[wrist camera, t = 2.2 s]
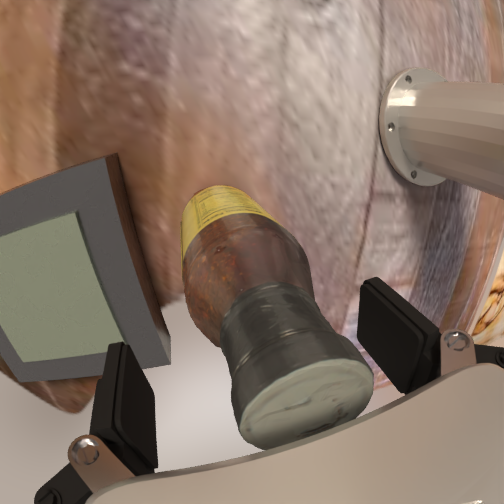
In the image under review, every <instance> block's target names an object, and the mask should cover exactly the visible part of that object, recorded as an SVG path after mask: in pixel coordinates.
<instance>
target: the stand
mask: <svg viewBox="0 0 504 504" xmlns="http://www.w3.org/2000/svg"><path fill="white" fill-rule="evenodd" d="M117 342H124V343H125V345H127V344H129V345H130V347H131V349H132V351H133V353H134V355H135V357H136V359H137V361H138V363H139V365H140V367H141V369H146V368H153V367H158V366H164V365H170V364H171V353H170V352H171V347H170V345H171V344H170V334H169V332H168V329H167V326H166V324H165V321H164V318H163V315H162V312H161V310H160V307H159V304H158V301H157V298H156V295H155V292H154V289H153V286H152V283H151V280H150V277H149V274H148V270H147V267H146V264H145V261H144V257H143V254H142V251H141V247H140V244H139V240H138V237H137V233H136V230H135V226H134V222H133V219H132V215H131V211H130V207H129V203H128V199H127V195H126V191H125V187H124V182H123V178H122V174H121V169H120V165H119V160H118V155H117V153H114V154H110V155H107V156H103V157H100V158H96V159H93V160H90V161H87V162H83V163H80V164H77V165H74V166H71V167H68V168H65V169H62V170H59V171H57V172H54V173H51V174H48V175H45V176H43V177H40V178H37V179H35V180H32V181H30V182H27V183H25V184H22V185H20V186H17V187H15V188H12V189H10V190H8V191H5V192H3V193H1V194H0V354H1V356H2V357H3V359H4V360H5V362H6V363H7V365H8V366H9V368H10V369H11V371H12V372H13V373H14V375H15V376H16V378H17V379H18V380H19V382H31V381H46V380H59V379H70V378H80V377H89V376H97V375H103V371H104V365H105V360H106V355H107V350H108V345H109V344H111V343H117Z"/></svg>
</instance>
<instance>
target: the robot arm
mask: <svg viewBox="0 0 504 504" xmlns="http://www.w3.org/2000/svg"><path fill="white" fill-rule="evenodd" d="M379 126H380V135H381V140H382V144H383V147H384V150H385V153H386V155H387V157H388V159H389V161H390V163H391V165H392V166H393V167H394V169H395V170H396V172H397V173H398V174H400V175H401V176H402V177H403V178H404V179H406V180H408V181H409V182H411V183H414V184H417V185H419V186H426V187H429V186H435V185H437V184H440V183H442V182H443V181H445V180H446V179H449V180H452V181H455V182H458V183H461V184H464V185H466V186H469V187H472V188H475V189H477V190H480V191H483V192H485V193H488V194H490V195H493V196H495V197H498V198H500V199H503V200H504V84H502V83H486V82H448V81H447V80H446V79H445V78H444V77H443V76H442V75H440V74H439V73H437V72H435V71H434V70H431V69H428V68H410V69H407V70H404V71H402V72H400V73H399V74H397V75H396V76H395V77H394V78H393V79H392V80H391V82H390V83H389V84H388V86H387V88H386V90H385V92H384V94H383V98H382V102H381V105H380V114H379ZM357 338H358V341H359V343H360V344H361V345H362V346H363V347H364V349H365V350H366V351H367V352H368V354H369V355H370V356H371V357H372V359H373V360H374V361H375V362H376V363H377V365H378V366H379V367H380V368H381V370H382V371H383V372H384V373H385V375H386V376H387V377H388V378H389V380H390V381H391V382H392V383H393V385H394V386H395V387H396V388H397V390H398V391H399V392H400V393H404V394H405V396H403V397H401V398H399V399H397V400H395V401H393V402H391V403H389V404H387V405H385V406H383V407H381V408H379V409H376V410H374V411H372V412H370V413H368V414H365V415H363V416H361V417H359V418H356V419H354V420H352V421H349V422H347V423H344V424H342V425H339V426H337V427H334V428H332V429H329V430H327V431H324V432H321V433H318V434H316V435H313V436H310V437H307V438H304V439H301V440H298V441H295V442H292V443H289V444H286V445H283V446H279V447H276V448H273V449H269V450H266V451H262V452H258V453H255V454H251V455H247V456H243V457H239V458H235V459H230V460H226V461H221V462H217V463H211V464H206V465H201V466H195V467H190V468H185V469H178V470H171V471H164V472H158V473H155V472H154V469H155V468H158V456H157V444H156V443H157V441H156V423H155V422H156V421H155V396H154V392H153V390H152V388H151V386H150V384H149V382H148V380H147V378H146V376H145V375H144V373H143V371H142V369H141V367H140V365H139V363H138V361H137V359H136V357H135V355H134V353H133V351H132V349H131V347H130V345H129V344H127V345H125V343H124V342H117V343H111V344H109V345H108V350H107V355H106V360H105V365H104V371H103V377H102V379H99V380H98V382H97V386H96V391H95V397H94V404H93V410H92V418H91V426H90V433H89V435H83V436H80V437H78V438H76V439H75V440H74V441H73V442H72V443H71V445H70V447H69V449H68V459H69V461H70V463H69V464H68V465H66V466H65V467H64V468H63V469H62V470H61V471H59V472H58V473H57V474H56V475H55V476H54V477H53V478H51V480H49V481H48V482H47V483H46V484H44V485H43V486H42V487H41V488H40V489H39V490H38V491H37V493H36V495H35V498H34V504H504V348H503V347H494V346H485V345H477V344H474V342H473V339H472V337H471V336H470V335H469V334H468V333H467V332H465V331H463V330H460V329H449V330H447V331H445V332H444V333H443V334H441V333H440V332H439V328H438V327H436V326H435V325H434V324H433V323H432V322H431V321H430V320H428V319H427V318H426V317H425V316H424V315H423V314H422V313H420V312H419V311H418V310H417V309H416V308H415V307H413V306H412V305H411V304H410V303H409V302H408V301H406V300H405V299H404V298H403V297H402V296H400V295H399V294H398V293H397V292H396V291H394V290H393V289H392V288H391V287H390V286H388V285H387V284H386V283H385V282H384V281H382V280H381V279H380V278H378V277H374V278H371V279H368V280H365V281H364V282H363V285H361V287H360V301H359V315H358V327H357Z"/></svg>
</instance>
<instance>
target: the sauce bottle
mask: <svg viewBox="0 0 504 504" xmlns="http://www.w3.org/2000/svg"><path fill="white" fill-rule="evenodd" d="M180 234H181V265H182V280H183V284H184V293H185V297H186V303H187V306H188V310H189V313H190V316H191V318H192V320H193V321H194V323H195V325H196V327H197V328H199V329H200V330H201V332H202V333H203V334H204V335H205V336H206V337H207V338H208V339H209V340H210V341H211V342H212V343H213V344H214V345H215V346H217V347H220V348H221V349H222V352H223V354H224V356H225V357H226V360H227V363H228V367H229V372H230V375H231V379H232V390H231V402H232V406H233V410H234V416H235V419H236V422H237V425H238V430H239V432H240V434H241V436H242V437H243V439H244V440H245V441H246V442H247V443H250V444H252V445H254V446H255V447H257V448H260V449H262V450H269V449H273V448H276V447H279V446H283V445H286V444H289V443H292V442H295V441H298V440H301V439H304V438H307V437H310V436H313V435H316V434H318V433H321V432H324V431H327V430H329V429H332V428H334V427H337V426H339V425H342V424H344V423H347V422H349V421H352V420H354V419H356V417H357V416H358V415H359V414H360V413H361V412H362V411H363V410H364V409H365V408H366V406H367V405H368V403H369V401H370V399H371V396H372V394H373V385H374V381H373V377H374V374H373V372H372V370H371V368H370V366H369V365H368V364H367V362H366V361H365V359H364V358H363V357H362V355H361V354H360V352H359V351H358V349H357V348H356V347H355V346H354V345H353V343H352V342H351V341H350V340H349V339H348V338H346V337H344V336H342V335H340V334H338V333H336V332H335V331H334V329H333V328H332V327H331V325H330V324H329V322H328V321H327V320H326V319H325V317H324V316H323V315H322V314H321V312H320V309H319V307H318V305H317V303H316V302H315V297H314V291H313V285H312V278H311V272H310V266H309V262H308V259H307V256H306V254H305V252H304V250H303V248H302V247H301V245H300V244H299V243H298V241H297V240H296V239H295V237H294V236H293V235H292V234H291V233H290V232H289V231H287V230H286V229H285V228H284V227H283V226H282V225H281V224H280V223H278V222H277V221H276V220H275V219H274V218H273V217H272V216H270V215H269V214H268V213H267V212H266V211H265V210H264V209H263V208H262V207H260V206H259V205H258V204H257V203H256V202H255V201H254V200H253V199H252V198H250V197H249V196H248V195H247V194H246V193H244V192H243V191H241V190H239V189H237V188H234V187H230V186H221V185H220V186H218V185H217V186H212V187H209V188H206V189H203V190H200V191H198V192H197V193H195V194H194V196H193V197H192V198H191V200H190V201H189V202H188V204H187V206H186V207H185V209H184V211H183V214H182V222H181V233H180Z"/></svg>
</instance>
